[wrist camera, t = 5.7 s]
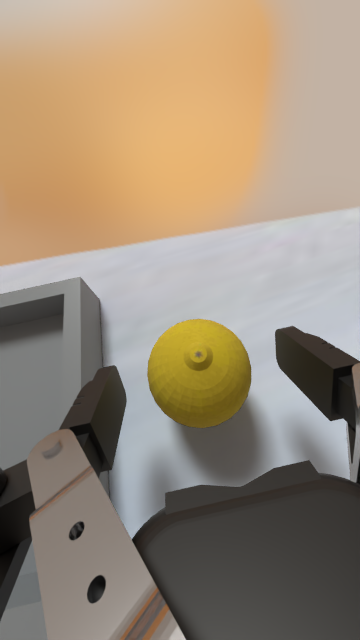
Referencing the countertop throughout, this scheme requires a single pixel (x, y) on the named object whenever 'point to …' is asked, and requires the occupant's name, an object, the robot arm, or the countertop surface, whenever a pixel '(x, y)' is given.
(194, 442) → the countertop surface
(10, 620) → the tray
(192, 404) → the lemon
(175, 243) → the countertop surface
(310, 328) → the countertop surface
